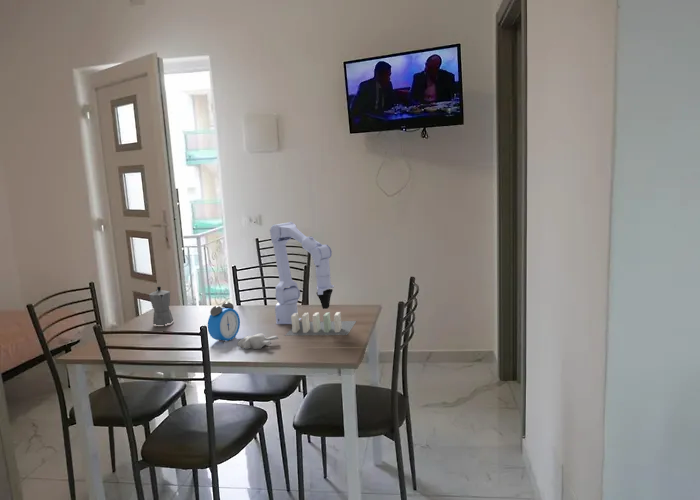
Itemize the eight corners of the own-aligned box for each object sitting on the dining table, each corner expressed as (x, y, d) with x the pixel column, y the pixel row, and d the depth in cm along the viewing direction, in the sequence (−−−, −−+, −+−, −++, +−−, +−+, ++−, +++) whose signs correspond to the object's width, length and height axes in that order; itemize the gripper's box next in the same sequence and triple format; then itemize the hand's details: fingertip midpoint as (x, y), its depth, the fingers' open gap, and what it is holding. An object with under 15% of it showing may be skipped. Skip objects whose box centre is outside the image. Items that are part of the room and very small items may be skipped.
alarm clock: (220, 345, 216) (216, 308, 214) (208, 344, 219) (204, 307, 217) (242, 335, 227) (238, 300, 225) (230, 334, 230) (226, 299, 228)
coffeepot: (176, 325, 250) (171, 287, 248) (154, 329, 246) (149, 290, 244) (171, 318, 264) (166, 282, 261) (150, 322, 260) (145, 285, 257)
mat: (284, 336, 222) (284, 335, 222) (298, 322, 241) (298, 321, 240) (347, 335, 217) (347, 334, 217) (356, 321, 235) (356, 321, 235)
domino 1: (292, 332, 225) (291, 316, 224) (296, 328, 230) (294, 312, 229) (296, 332, 225) (294, 316, 224) (299, 328, 230) (298, 312, 228)
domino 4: (324, 332, 222) (323, 315, 221) (327, 328, 227) (326, 312, 226) (328, 332, 222) (326, 315, 221) (331, 328, 227) (329, 312, 226)
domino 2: (303, 332, 224) (301, 316, 223) (306, 328, 229) (305, 312, 228) (306, 332, 224) (305, 315, 223) (310, 328, 229) (308, 312, 228)
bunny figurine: (245, 333, 217) (278, 330, 212) (248, 345, 218) (281, 342, 213) (232, 340, 209) (266, 337, 203) (235, 353, 209) (269, 350, 204)
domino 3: (313, 332, 223) (312, 315, 222) (316, 328, 228) (315, 312, 227) (317, 332, 223) (316, 315, 222) (320, 328, 228) (319, 312, 227)
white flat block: (335, 332, 221) (333, 315, 220) (337, 328, 226) (336, 312, 225) (339, 332, 221) (337, 315, 220) (341, 328, 226) (340, 312, 225)
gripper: (328, 278, 213) (331, 312, 215) (336, 271, 227) (339, 303, 229) (311, 279, 215) (314, 312, 217) (320, 271, 229) (323, 303, 231)
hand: (325, 307), depth 223 cm, fingers closed
